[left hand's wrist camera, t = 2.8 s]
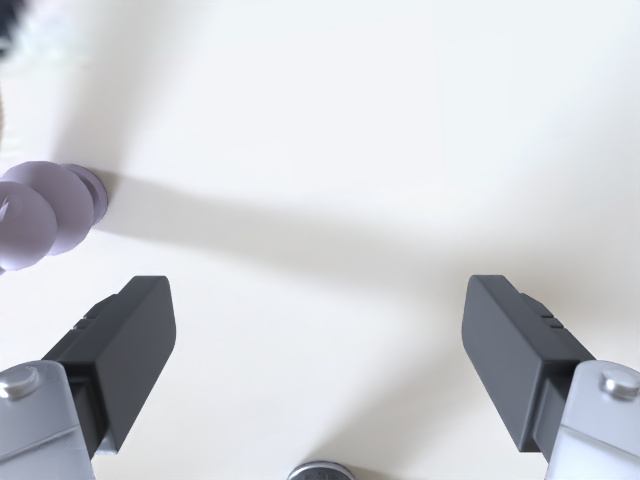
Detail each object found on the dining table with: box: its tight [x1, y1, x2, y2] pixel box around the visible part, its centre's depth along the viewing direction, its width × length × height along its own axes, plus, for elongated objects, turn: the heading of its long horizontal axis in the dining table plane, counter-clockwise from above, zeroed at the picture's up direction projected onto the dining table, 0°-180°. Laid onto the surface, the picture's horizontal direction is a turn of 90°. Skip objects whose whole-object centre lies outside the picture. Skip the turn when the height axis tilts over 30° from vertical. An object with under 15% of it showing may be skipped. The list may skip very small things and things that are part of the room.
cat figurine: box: [0, 161, 108, 275], centre depth 34 cm, size 8×8×12 cm
